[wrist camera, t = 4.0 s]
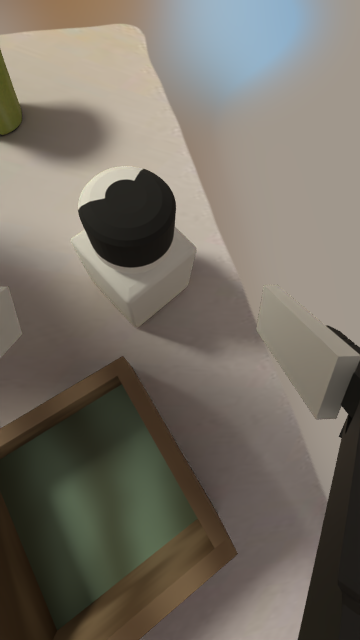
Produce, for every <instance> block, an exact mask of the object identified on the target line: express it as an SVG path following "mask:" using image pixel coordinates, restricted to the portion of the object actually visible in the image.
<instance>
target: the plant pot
mask: <svg viewBox="0 0 360 640" xmlns="http://www.w3.org/2000/svg"><path fill="white" fill-rule="evenodd" d="M21 121H22V112H21V108H20V105H19V102H18V99H17V96H16V94H15V91H14V88H13V85H12V82H11V79H10V76H9V73H8V71H7V68H6V65H5V62H4V59H3V56H2V53H1V50H0V134H2V135H4V134H7V133H9V132H11V131H13V130H14V129H16V128H17V127H18V126H19V124H20V123H21Z"/></svg>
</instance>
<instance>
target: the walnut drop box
mask: <svg viewBox="0 0 360 640" xmlns="http://www.w3.org/2000/svg"><path fill="white" fill-rule="evenodd" d="M237 554H238V553H237V551H236V549H235V547H234V545H233V543H232V541H231V539H230V537H229V536H228V534H227V532H226V530H225V528H224V526H223V524H222V522H221V520H220V518H219V516H218V514H217V512H216V511H215V509H214V507H213V505H212V504H211V502H210V500H209V499H208V497H207V495H206V493H205V492H204V490H203V488H202V487H201V485H200V483H199V481H198V480H197V478H196V476H195V475H194V473H193V471H192V469H191V468H190V466H189V464H188V463H187V461H186V459H185V457H184V456H183V454H182V452H181V451H180V449H179V447H178V445H177V444H176V442H175V440H174V439H173V437H172V435H171V433H170V432H169V430H168V428H167V427H166V425H165V423H164V421H163V420H162V418H161V416H160V415H159V413H158V411H157V409H156V408H155V406H154V404H153V403H152V401H151V399H150V397H149V396H148V394H147V392H146V391H145V389H144V387H143V385H142V384H141V382H140V380H139V379H138V377H137V375H136V373H135V372H134V370H133V368H132V367H131V365H130V364H129V363H128V362H127V360H126V359H125V358H124V357H123V356H122V357H120V358H119V359H117V360H115V361H114V362H112V363H110V364H109V365H107V366H105V367H104V368H102V369H100V370H99V371H97V372H95V373H93V374H92V375H90V376H88V377H87V378H85V379H83V380H82V381H80V382H78V383H77V384H75V385H73V386H72V387H70V388H68V389H66V390H65V391H63V392H61V393H60V394H58V395H56V396H55V397H53V398H51V399H50V400H48V401H46V402H45V403H43V404H41V405H40V406H38V407H36V408H34V409H33V410H31V411H29V412H28V413H26V414H24V415H23V416H21V417H19V418H18V419H16V420H14V421H13V422H11V423H9V424H7V425H6V426H4V427H2V428H1V429H0V640H139V639H140V638H141V637H142V636H144V635H145V634H146V633H147V632H148V631H149V630H150V629H152V628H153V627H154V626H155V625H156V624H157V623H159V622H160V621H161V620H162V619H163V618H164V617H165V616H167V615H168V614H169V613H170V612H171V611H172V610H174V609H175V608H176V607H177V606H178V605H179V604H180V603H182V602H183V601H184V600H185V599H186V598H187V597H189V596H190V595H191V594H192V593H193V592H194V591H195V590H197V589H198V588H199V587H200V586H201V585H202V584H204V583H205V582H206V581H207V580H208V579H209V578H210V577H212V576H213V575H214V574H215V573H216V572H217V571H219V570H220V569H221V568H222V567H223V566H224V565H225V564H227V563H228V562H229V561H230V560H231V559H232V558H234V557H235V556H236V555H237Z"/></svg>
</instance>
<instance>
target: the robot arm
mask: <svg viewBox="0 0 360 640" xmlns="http://www.w3.org/2000/svg"><path fill="white" fill-rule="evenodd" d="M256 330H257V332H258V333H259V335H260V336H261V338H262V339H263V341H264V342H265V344H266V345H267V347H268V348H269V350H270V351H271V353H272V354H273V356H274V357H275V359H276V360H277V362H278V363H279V365H280V366H281V368H282V369H283V371H284V372H285V374H286V375H287V376H288V378H289V380H290V381H291V383H292V384H293V386H294V387H295V389H296V390H297V392H298V393H299V395H300V396H301V398H302V399H303V401H304V402H305V404H306V405H307V407H308V408H309V410H310V411H311V413H312V414H313V415H314V417H315V419H336V418H337V415H338V413H339V410H340V408H341V406H342V407H343V408H344V409H345V411H346V412H347V413H348V416H347V419H346V421H345V423H344V426H343V428H342V430H341V433H340V435H339V437H341V438H342V439H341V444H340V448H339V453H338V457H337V462H336V467H335V471H334V476H333V480H332V485H331V490H330V494H329V499H328V503H327V508H326V513H325V517H324V522H323V526H322V531H321V536H320V540H319V545H318V549H317V554H316V559H315V563H314V568H313V573H312V577H311V582H310V586H309V591H308V596H307V600H306V605H305V609H304V614H303V619H302V623H301V628H300V632H299V637H298V640H360V347H358V346H357V345H355V344H354V343H353V342H352V341H351V340H350V339H348V338H347V337H346V336H345V335H343V334H342V333H341V332H340V331H338V330H336V329H334V328H332V327H330V326H325V325H324V324H323V323H322V322H321V321H320V320H318V319H317V318H316V317H315V316H314V315H313V314H311V313H310V312H309V311H308V310H307V309H305V308H304V307H303V306H302V305H301V304H300V303H298V302H297V301H296V300H295V299H294V298H292V297H291V296H290V295H289V294H288V293H287V292H285V291H284V290H283V289H282V288H281V287H280V286H278V285H264V287H263V293H262V299H261V305H260V310H259V316H258V322H257V328H256ZM21 335H22V331H21V328H20V324H19V321H18V317H17V314H16V310H15V307H14V304H13V300H12V297H11V293H10V290H9V287H0V358H1V357H2V356H3V355H4V354H5V353H6V352H7V351H8V350H9V348H10V347H11V346H12V345H13V344H14V343H15V342H16V341H17V340H18V338H19V337H20V336H21Z"/></svg>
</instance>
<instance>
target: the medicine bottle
mask: <svg viewBox="0 0 360 640" xmlns="http://www.w3.org/2000/svg"><path fill="white" fill-rule="evenodd" d="M78 212H79V217H80V219H81V222H82V224H83V227H84V229H85V230H83V231H82V232H80V233H79V234H77V235H76V236H74V237H73V238H72V239H71V244H72V246H73V247H74V249H75V251H76V253H77V255H78V256H79V258H80V260H81V262H82V263H83V265H84V267H85V269H86V271H87V272H88V274H89V276H90V278H91V279H92V281H93V282H94V283H95V284H96V285H97V287H98V288H99V289H100V290H101V291H102V292H103V293H104V294H105V295H106V296H107V298H108V299H109V300H110V301H111V302H112V303H113V304H114V305H115V306H116V308H117V309H118V310H119V311H120V312H121V313H122V314H123V315H124V316H125V317H126V319H127V320H128V321H129V322H130V323H131V324H132V325H133V326H134V327H135V328H138V327H140V326H141V325H142V324H143V323H144V322H146V321H147V320H148V319H149V318H150V317H152V316H153V315H154V314H155V313H156V312H158V311H159V310H160V309H161V308H162V307H164V306H165V305H166V304H167V303H168V302H169V301H171V300H172V299H173V298H174V297H175V296H177V295H178V294H179V293H180V292H181V291H183V290H184V289H185V288H186V287H187V286H188V284H189V280H190V276H191V271H192V267H193V263H194V258H195V254H196V247H195V246H194V245H193V244H192V243H191V242H190V241H189V240H188V239H187V238H186V237H185V236H184V235H183V234H182V233H181V232H180V231H179V230H178V229H177V228H176V227H175V214H176V202H175V198H174V195H173V193H172V191H171V189H170V187H169V186H168V185H167V184H166V183H165V182H164V181H163V180H162V179H161V178H160V177H158V176H157V175H155V174H154V173H152V172H150V171H148V170H146V169H143V168H139V167H133V166H119V167H114V168H110V169H107V170H105V171H103V172H101V173H99V174H97V175H96V176H95V177H93V178H92V179H91V180H90V181H89V182H88V184H87V185H86V186H85V187H84V189H83V191H82V193H81V195H80V198H79V202H78Z"/></svg>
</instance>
